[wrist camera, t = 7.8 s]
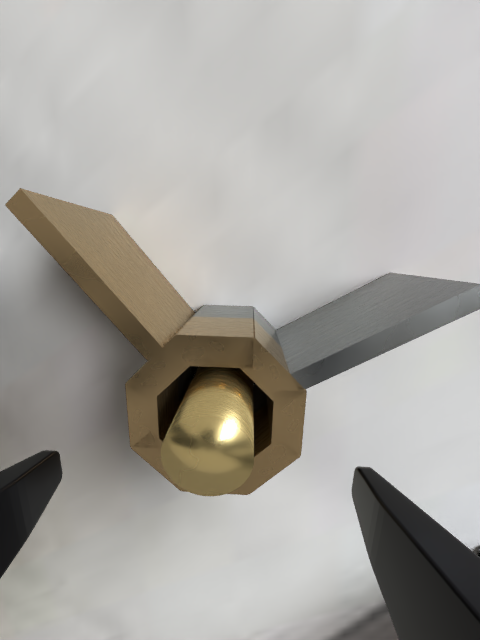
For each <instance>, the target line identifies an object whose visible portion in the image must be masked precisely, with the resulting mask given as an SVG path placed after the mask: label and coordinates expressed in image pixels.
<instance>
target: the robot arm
mask: <svg viewBox="0 0 480 640" xmlns="http://www.w3.org/2000/svg"><path fill="white" fill-rule="evenodd" d="M61 479H62V467H61V460H60V454H59V453H58V452H57V451H49V450H45V451H41V452H39V453H37V454H35V455H33V456H31V457H29V458H27V459H25V460H23V461H21V462H19V463H17V464H15V465H13V466H11V467H9V468H7V469H5V470H3V471H1V472H0V578H1V577H2V576H3V574H4V573H5V571H6V570H7V568H8V567H9V565H10V564H11V562H12V561H13V559H14V558H15V556H16V555H17V553H18V552H19V551H20V549H21V548H22V546H23V545H24V543H25V541H26V540H27V538H28V537H29V535H30V533H31V532H32V530H33V529H34V527H35V525H36V523H37V522H38V520H39V518H40V516H41V515H42V513H43V511H44V509H45V508H46V506H47V504H48V502H49V501H50V499H51V497H52V496H53V494H54V492H55V490H56V489H57V487H58V485H59V483H60V481H61ZM352 498H353V502H354V505H355V509H356V513H357V516H358V520H359V524H360V527H361V531H362V535H363V538H364V542H365V546H366V549H367V553H368V556H369V559H370V562H371V565H372V568H373V571H374V574H375V576H376V579H377V582H378V584H379V587H380V590H381V592H382V595H383V598H384V601H385V603H386V606H387V609H388V611H389V614H390V617H391V619H392V622H393V625H394V627H395V630H396V633H397V636H398V638H399V640H480V556H477V555H476V554H475V553H474V552H472V551H471V550H470V549H469V548H468V547H466V546H465V545H464V544H463V543H462V542H460V541H459V540H458V539H457V538H456V537H454V536H453V535H452V534H451V533H449V532H448V531H447V530H446V529H445V528H443V527H442V526H441V525H440V524H439V523H437V522H436V521H435V520H434V519H432V518H431V517H430V516H429V515H428V514H426V513H425V512H424V511H423V510H422V509H420V508H419V507H418V506H417V505H416V504H414V503H413V502H412V501H411V500H409V499H408V498H407V497H406V496H405V495H403V494H402V493H401V492H400V491H399V490H397V489H396V488H395V487H394V486H392V485H391V484H390V483H389V482H388V481H386V480H385V479H384V478H383V477H382V476H380V475H379V474H378V473H377V472H376V471H374V470H373V469H372V468H370V467H356V468H355V471H354V478H353V485H352Z"/></svg>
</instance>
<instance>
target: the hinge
mask: <svg viewBox="0 0 480 640" xmlns="http://www.w3.org/2000/svg"><path fill="white" fill-rule="evenodd" d="M5 205H6V207H7V208H8V209H9V210H10V211H11V212H12V213H13V214H14V215H15V216H16V218H17V219H18V220H19V221H20V222H21V223H22V224H23V225H24V226H25V227H26V228H27V230H28V231H29V232H30V233H31V234H32V235H33V236H34V237H35V238H36V239H37V241H38V242H39V243H40V244H41V245H42V246H43V247H44V248H45V249H46V250H47V251H48V253H49V254H50V255H51V256H52V257H53V258H54V259H55V260H56V261H57V262H58V264H59V265H60V266H61V267H62V268H63V269H64V270H65V271H66V272H67V273H68V274H69V276H70V277H71V278H72V279H73V280H74V281H75V282H76V283H77V284H78V285H79V286H80V288H81V289H82V290H83V291H84V292H85V293H86V294H87V295H88V296H89V297H90V299H91V300H92V301H93V302H94V303H95V304H96V305H97V306H98V307H99V308H100V309H101V311H102V312H103V313H104V314H105V315H106V316H107V317H108V318H109V319H110V320H111V322H112V323H113V324H114V325H115V326H116V327H117V328H118V329H119V330H120V331H121V332H122V334H123V335H124V336H125V337H126V338H127V339H128V340H129V341H130V342H131V343H132V344H133V346H134V347H135V348H136V349H137V350H138V351H139V352H140V353H141V354H142V355H143V357H144V358H145V359H146V360H147V362H146V363H145V364H144V365H143V366H142V367H141V368H140V369H139V370H138V371H137V372H136V373H135V374H134V375H133V376H132V377H131V378H130V379H129V380H128V381H127V382H126V384H125V388H126V400H127V412H128V424H129V437H130V447H131V449H132V450H134V451H135V452H136V453H137V454H138V455H139V456H141V457H142V458H143V459H144V460H145V461H146V462H148V463H149V464H150V465H151V466H152V467H153V468H155V469H156V470H157V471H158V472H159V473H160V474H162V475H163V476H164V477H165V478H166V479H167V480H168V481H170V482H171V483H172V484H173V485H174V486H175V487H177V488H178V489H179V490H180V491H181V490H182V491H186V490H184V489H183V488H181V487H179V486H178V485H177V484H175V483H174V482H173V481H172V480H171V478H170V477H169V476H168V475H167V473H166V471H165V469H164V467H163V464H162V461H161V447H162V443H163V440H164V438H165V436H166V434H167V432H168V430H169V427H170V425H171V423H172V421H173V419H174V417H175V415H176V413H177V411H178V409H179V406H180V404H181V402H182V400H183V398H184V396H185V394H186V392H187V390H188V388H189V385H190V383H191V381H192V379H193V376H192V375H191V366H202V367H227V368H240V369H241V370H242V371H243V372H244V373H245V374H246V375H247V376H248V377H249V378H250V379H251V380H253V381H254V382H255V383H256V385H255V386H253V415H254V465H253V469H252V471H251V474H250V476H249V477H248V479H247V480H246V481H245V482H244V483H243V484H242V485H241V486H240V487H239V488H237V489H236V490H234V491H232V492H230V493H227V494H240V495H248V494H250V493H252V492H253V491H254V490H256V489H257V488H259V487H260V486H261V485H263V484H264V483H265V482H267V481H268V480H269V479H271V478H272V477H273V476H275V475H276V474H277V473H279V472H280V471H281V470H283V469H284V468H286V467H287V466H288V465H290V464H291V463H292V462H294V461H295V460H296V459H298V458H299V457H300V456H301V448H302V437H303V426H304V415H305V403H306V389H307V388H309V387H311V386H313V385H316V384H318V383H320V382H322V381H324V380H327V379H329V378H331V377H333V376H335V375H337V374H340V373H342V372H344V371H346V370H348V369H350V368H353V367H355V366H357V365H359V364H361V363H364V362H366V361H368V360H370V359H372V358H374V357H377V356H379V355H381V354H383V353H385V352H387V351H390V350H392V349H394V348H396V347H398V346H400V345H403V344H405V343H407V342H409V341H411V340H414V339H416V338H418V337H420V336H422V335H424V334H427V333H429V332H431V331H433V330H435V329H437V328H440V327H442V326H444V325H446V324H448V323H450V322H453V321H455V320H457V319H459V318H461V317H464V316H466V315H468V314H470V313H472V312H474V311H477V310H479V309H480V284H476V283H468V282H460V281H453V280H445V279H437V278H429V277H421V276H413V275H405V274H397V273H389V274H387V275H385V276H383V277H381V278H379V279H377V280H375V281H373V282H371V283H369V284H367V285H365V286H363V287H361V288H359V289H357V290H355V291H353V292H351V293H349V294H347V295H345V296H343V297H341V298H339V299H337V300H335V301H333V302H331V303H329V304H327V305H325V306H323V307H321V308H319V309H317V310H315V311H313V312H311V313H309V314H307V315H305V316H303V317H301V318H299V319H297V320H295V321H293V322H291V323H290V324H288V325H286V326H284V327H282V328H280V329H278V330H275V329H274V328H273V327H272V326H271V325H270V324H269V322H268V321H267V320H266V319H265V318H264V317H263V316H262V315H261V314H260V313H259V312H258V311H257V310H256V309H255V308H254V307H252V306H220V305H203V306H202V307H201V308H200V309H199V310H198V311H197V312H196V313H195V312H194V311H193V310H192V309H191V308H190V307H189V305H188V304H187V303H186V302H185V301H184V299H183V298H182V297H181V296H180V295H179V294H178V292H177V291H176V290H175V289H174V288H173V286H172V285H171V284H170V283H169V282H168V281H167V279H166V278H165V277H164V276H163V275H162V273H161V272H160V271H159V270H158V269H157V267H156V266H155V265H154V264H153V263H152V262H151V260H150V259H149V258H148V257H147V256H146V254H145V253H144V252H143V251H142V250H141V249H140V247H139V246H138V245H137V244H136V243H135V241H134V240H133V239H132V238H131V237H130V236H129V234H128V233H127V232H126V231H125V230H124V228H123V227H122V226H121V225H120V224H119V222H118V221H117V220H116V219H115V218H114V217H113V215H111V214H107V213H104V212H100V211H97V210H93V209H90V208H86V207H83V206H80V205H76V204H73V203H69V202H66V201H62V200H59V199H55V198H52V197H48V196H45V195H41V194H38V193H34V192H31V191H28V190H24V189H21V188H20V189H19V190H18V191H17V192H16V194H15V195H14V196H13V197H12V198H11V199H10V200H9V201H8V202H7V203H6V204H5ZM186 492H188V491H186Z"/></svg>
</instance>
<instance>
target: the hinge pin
mask: <svg viewBox="0 0 480 640" xmlns="http://www.w3.org/2000/svg"><path fill="white" fill-rule="evenodd" d="M161 461H162V464H163V467H164V469H165V471H166V473H167V475H168V476H169V477H170V478H171V480H172V481H173V482H174V483H175V484H177V485H178V486H179V487H181V488H183V489H184V490H186V491H188V492H191V493H194V494H197V495H202V496H219V495H223V494H227V493H230V492H232V491H234V490H236V489H237V488H239V487H240V486H241V485H242V484H243V483H244V482H245V481H246V480H247V479H248V477H249V476H250V474H251V471H252V469H253V465H254V415H253V380H251V379H250V378H249V377H248V376H247V375H246V374H245V373H244V372H243V371H242V370H241V369H240V368H227V367H202V366H199V367H198V369H197V371H196V373H195V375H194V377H193V379H192V381H191V383H190V385H189V388H188V390H187V392H186V394H185V396H184V398H183V400H182V402H181V404H180V406H179V409H178V411H177V413H176V415H175V417H174V419H173V421H172V423H171V425H170V427H169V430H168V432H167V434H166V436H165V438H164V440H163V443H162V447H161Z"/></svg>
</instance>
